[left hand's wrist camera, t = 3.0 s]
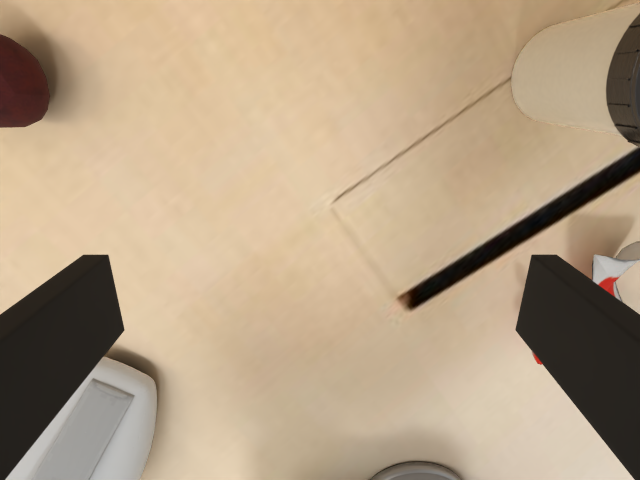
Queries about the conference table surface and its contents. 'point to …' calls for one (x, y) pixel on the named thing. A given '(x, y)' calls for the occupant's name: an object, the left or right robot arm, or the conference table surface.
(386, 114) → the conference table surface
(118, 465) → the projector
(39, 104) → the dark red ball
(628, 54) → the lid
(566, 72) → the jar
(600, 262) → the fish
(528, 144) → the conference table surface
